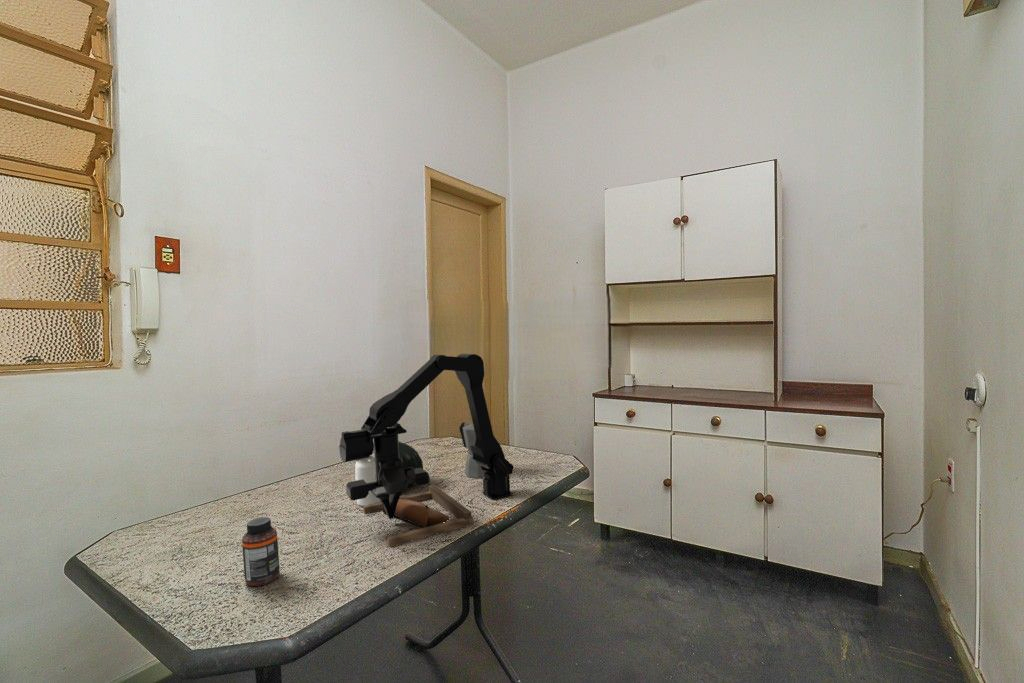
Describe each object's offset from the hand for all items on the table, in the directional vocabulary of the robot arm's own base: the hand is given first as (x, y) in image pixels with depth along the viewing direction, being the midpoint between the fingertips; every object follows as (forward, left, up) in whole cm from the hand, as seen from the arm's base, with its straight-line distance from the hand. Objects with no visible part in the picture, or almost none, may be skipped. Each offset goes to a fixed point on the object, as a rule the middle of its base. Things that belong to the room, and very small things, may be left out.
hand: (390, 518), depth 114 cm
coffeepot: (-34, -23, -2) cm, 41 cm away
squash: (-9, -26, -2) cm, 28 cm away
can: (+1, -18, -2) cm, 18 cm away
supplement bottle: (+28, +11, -2) cm, 30 cm away
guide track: (-6, 0, -1) cm, 6 cm away
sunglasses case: (-7, -1, -2) cm, 7 cm away
